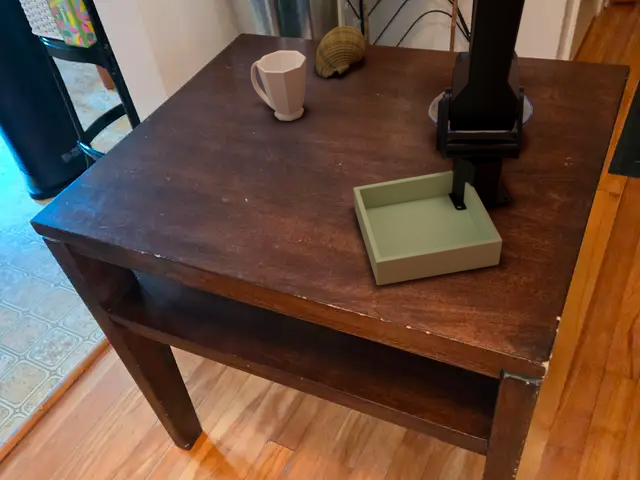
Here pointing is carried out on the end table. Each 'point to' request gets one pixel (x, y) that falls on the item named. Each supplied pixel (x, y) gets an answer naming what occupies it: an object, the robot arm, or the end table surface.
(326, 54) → the seashell
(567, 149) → the end table surface
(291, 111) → the cup
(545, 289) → the end table surface
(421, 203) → the tray
